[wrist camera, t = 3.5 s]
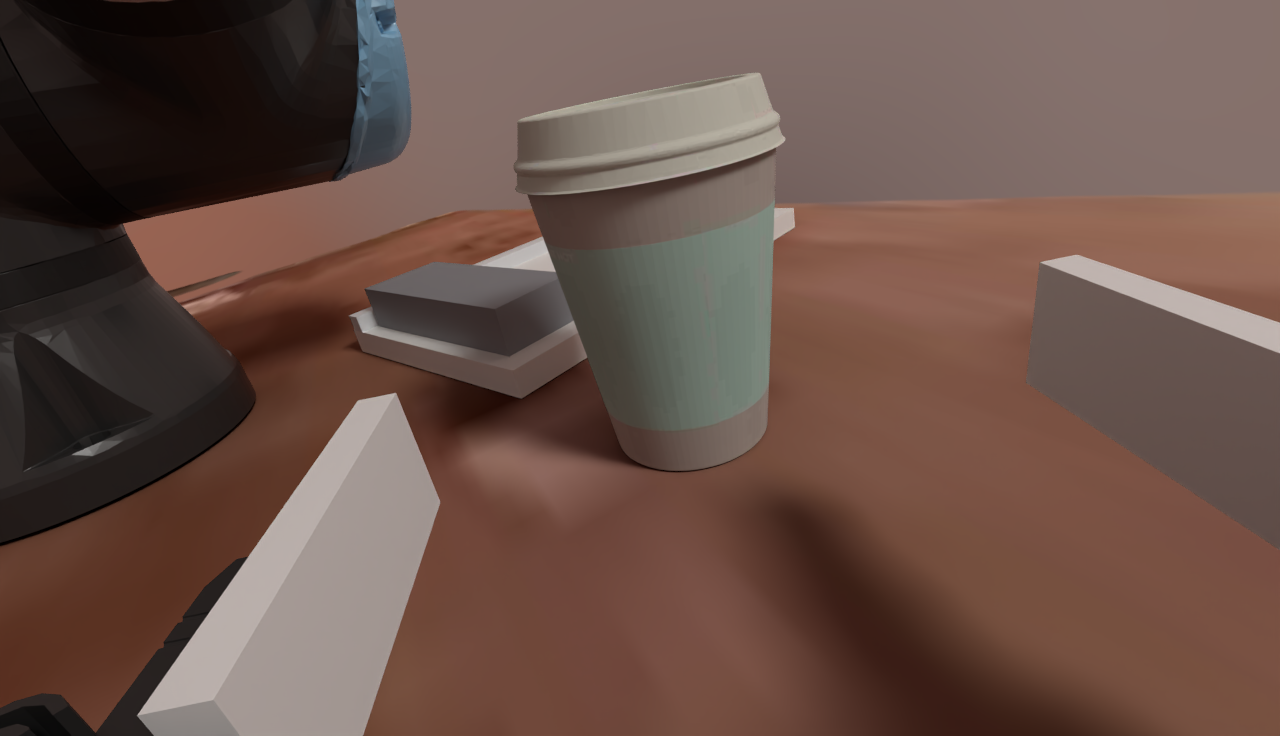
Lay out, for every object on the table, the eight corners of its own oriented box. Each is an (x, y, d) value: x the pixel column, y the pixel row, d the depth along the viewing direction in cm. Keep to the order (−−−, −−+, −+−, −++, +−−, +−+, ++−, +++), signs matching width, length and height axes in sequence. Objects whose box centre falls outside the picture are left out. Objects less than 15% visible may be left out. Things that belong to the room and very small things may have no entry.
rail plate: (521, 398, 28) (497, 320, 27) (362, 351, 38) (337, 292, 37) (794, 227, 46) (791, 174, 45) (637, 225, 56) (630, 182, 55)
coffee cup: (800, 369, 26) (779, 64, 21) (811, 495, 19) (782, 73, 14) (612, 381, 28) (551, 108, 23) (555, 500, 21) (447, 137, 16)
